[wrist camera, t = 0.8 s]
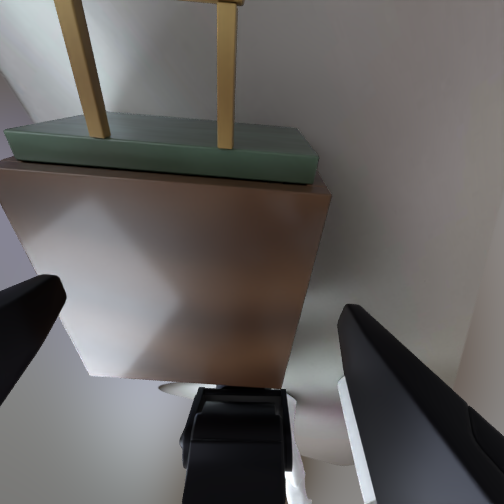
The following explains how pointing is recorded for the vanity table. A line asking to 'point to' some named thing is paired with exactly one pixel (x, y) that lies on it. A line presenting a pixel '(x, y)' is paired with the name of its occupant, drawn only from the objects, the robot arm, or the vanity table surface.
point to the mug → (356, 444)
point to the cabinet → (171, 267)
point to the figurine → (295, 466)
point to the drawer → (164, 124)
